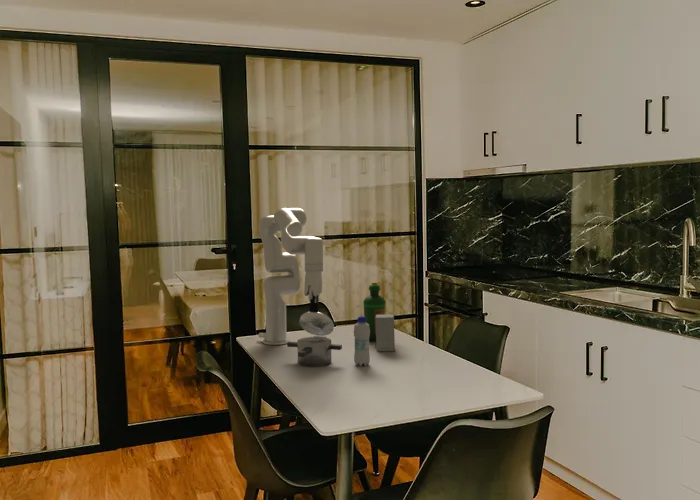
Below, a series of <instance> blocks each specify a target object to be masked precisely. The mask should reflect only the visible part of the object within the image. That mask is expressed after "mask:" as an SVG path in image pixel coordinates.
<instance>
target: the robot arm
mask: <svg viewBox="0 0 700 500" xmlns="http://www.w3.org/2000/svg"><path fill="white" fill-rule="evenodd" d="M306 223H307V214H306V212H305V211H304V209H302V208H299V207H290V208H289V207H288V208H287V207H283V208H280V209H277V210H276V211H275V212H274V214H273V215H272V214H271V215H265V216H262V217H261V218H260V219H259V221H258V233H259V237H260V239H261V242H262V246H263V260H264V268H265V270H266V272H267V273H269V274H280V273H286V274H287V275H286V274H285V275H272V276H268V277H266V278H264V281H263V291H264V292H263V293H264V298H265V323H266V324H265V330H266V332H259V333H258V337H259V338H261V339H262V338H263V341H262V343H263V344H264V345H268V346H279V345H281V346H282V345H287V343H288V342H291V339H290V338H288V337H287V305H286V302H285V301H284V299H283V298H282V297H284V296H294V295H297V294H299V293H300V291H301V274H300V266H299V260H298V257H297V255H304V272H305V275H304V285H303V286H304V290H303V291H304V293H303V294H304V296H306V297H307V296H308V301H309V312H311V311H312V312H319V299H320V298H319V297H320V295H321V294H322V292H323V274H322V272H324V242H323V241H324V240H323V239H322V237H321V238H320V237H316V236H313V235H311V236H310V235H308V236H305V235H304V236H303V235H302V236H301V235H300V234H302V231H303V227H304V226H305V225H306ZM277 234H280V238H278V236H277ZM282 248H283V249H284V250H285V252H283V250H282Z"/></svg>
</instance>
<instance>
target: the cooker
mask: <svg viewBox="0 0 700 500" xmlns="http://www.w3.org/2000/svg"><path fill="white" fill-rule="evenodd" d="M286 345H287V346H286V347H289V348H292V347H293V348H297V364H298V365H299V366H302V367H308V368H309V367H310V368H318V367H319V368H320V367H326V366H329V365H331V364H332V350H335V351H336V350H337V351H342V350H343V345H342V344H335V343H332V339H331V338H328V337H327V336H318V335H313V336H306V337H301V338H299V339H297V341H290V342H288V343H287V344H286Z"/></svg>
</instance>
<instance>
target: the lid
mask: <svg viewBox="0 0 700 500" xmlns="http://www.w3.org/2000/svg"><path fill="white" fill-rule="evenodd" d="M298 321H299V325H300V327H301V329H303V330H304V331H305V332H307V333H309V334H311V335H313V336H323V337H325V336H328V335H330V334H332V333H333V331H334V328H335V324H334V321H333V320H332V319H331V317H329V316H328V315H326V314H324V313H322V312H319V311H318V312H312V311H311V312H310V311H307V312H304V313H302V314H301V315H300V318H299V320H298Z"/></svg>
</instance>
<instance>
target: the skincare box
mask: <svg viewBox="0 0 700 500" xmlns="http://www.w3.org/2000/svg"><path fill="white" fill-rule="evenodd" d="M375 320H376V342H375V346H376V349H375V350H376V352H395V346H396V345H395V344H396V343H395V341H396V340H395V339H396V338H395V315H394V314H385V315H376V317H375Z"/></svg>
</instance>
